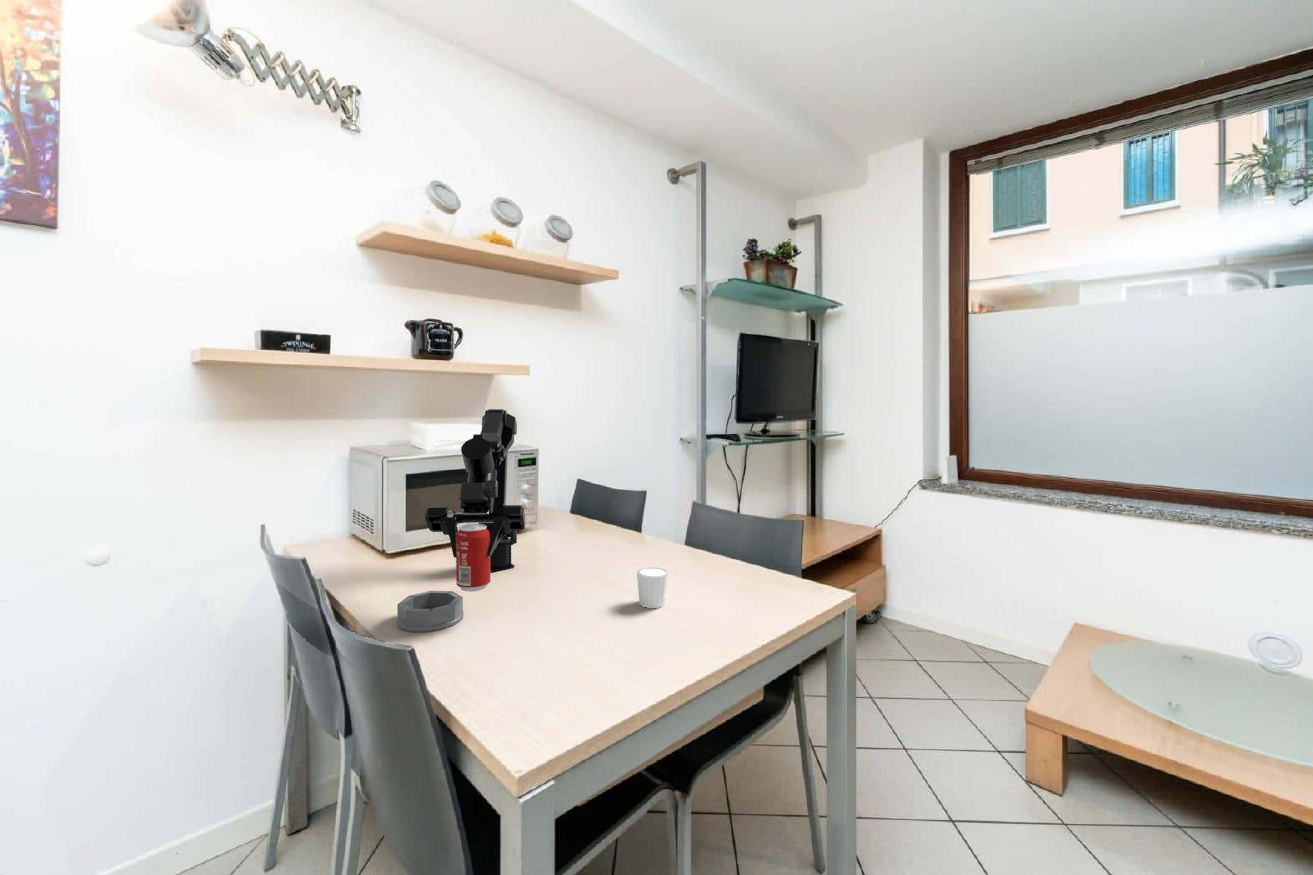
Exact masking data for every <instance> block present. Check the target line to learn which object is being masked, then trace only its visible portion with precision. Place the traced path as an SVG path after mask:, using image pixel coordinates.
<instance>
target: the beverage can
mask: <svg viewBox="0 0 1313 875" xmlns="http://www.w3.org/2000/svg"><path fill="white" fill-rule="evenodd" d="M486 527H487V526H486V525H484V524H479V523H467V524H463V525H461V526H459V527H458V533H457V534H456V558H455V565H456V566H455V571H456V572H455V574H456V575H455V576H456V579H455V580H456V583H455V584H456V586H457V587H458V588H460V590H461V591H462V592H463V591H464V592H477V591H478V592H479V591H482V590H485V589H486V587H487V586H488V585H489V584H490V583H491V571H490V557H488V548H489V543H490V532H489V531H488V530H487V528H486Z"/></svg>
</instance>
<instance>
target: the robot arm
mask: <svg viewBox="0 0 1313 875" xmlns="http://www.w3.org/2000/svg"><path fill="white" fill-rule="evenodd" d="M517 433H518V424H517V419H516V417H515V415H511V414H509V413H508V412H507V410H504V409H502V408H501V409H500V408H498V409H495V408H491V409H490V408H488V409H486V410H485V412H484V415H482V418H481V431H480V434H478V433H477V434H473V435H472V438H470V439H467V440H466V441H464V443H462V445H461V447H460V452H461V455H462V456H461V457H462V460H463V463H464V464H463V465H464V468H465V471H466V473H467V474H468V477H467V482H461V483H460V490H459V500H460V504H459V505H460V509H463V510H462V512H460V511H459V512H456V511H453V510H450V509H449V506H448V505H437V506H436V505H434V506H433V505H431V506H429V507H427V509H426V510H425V513H424V514H425V515H424V519H425V522H426V524H427V527H428V530H429V532H432V533H442V534H443V535H445V536H448V537H449V540H450V541H449V542H450V546H451V551H452V552H451V553H452V556H453V558H454V559H456V534H457V533H458V531H459V527H458V524H461V523H462V524H463V523H465V524H484V525H486V526H487V527H486V528H487V530H488V531H489V532H490V543H489V548H488V557H490V573H491V572H492V573H493V572H495V573H496V572H498V571H503V570H507V569H511V568H515V565H516V564H513V563H512V546H514V544H515V545H516V544H517V542H518V541H517V540H518V537H517V536H518V535H517V531H523V530H526V513H525V507H524V506H523V505H522V504H506V503H507V481H508V478H507V475H508V452H509V450H510V448H511V447H512V446H513V445H514V443H515V435H516V436H517Z"/></svg>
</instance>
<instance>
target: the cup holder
mask: <svg viewBox="0 0 1313 875" xmlns="http://www.w3.org/2000/svg"><path fill="white" fill-rule="evenodd" d="M463 600H464V598H463V596H462V595H460V594H459V593H457V592H455V591H453V590H428V591H425V592H419V593H416V594H411V595H407V596H406V597H405V598H403V600H401V601H400V602H398V603H397V606H396V607H397V619H396V621H397V622H396V623H397V624H396V625H397V628H398V629H400V630H402V631H405V632H408V633H409V632H410V633H430V632H437V631H441V630H445V629H448V628H450V627H453V626H455V625H457V624H459V623H460V622H461V621H462V620H463V619H464V602H463Z"/></svg>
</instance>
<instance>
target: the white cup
mask: <svg viewBox="0 0 1313 875" xmlns="http://www.w3.org/2000/svg"><path fill="white" fill-rule="evenodd" d="M669 575H670V572H669V570H667V569H665V568H660V567H644V568H641V569H638V570H637V572H636V578H637V579H636V580H637V589H638V590H637V591H638V602H639V603H640V604H639V606H640V605H641V606H640V607H642V606H643V607H642V608H644V607H647V608H646V609H648V608H657V609H660V608H659V607H662V608H664V607H665V606H666V603H667V594H668V583H669ZM664 605H665V606H664ZM663 606H664V607H663Z"/></svg>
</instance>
